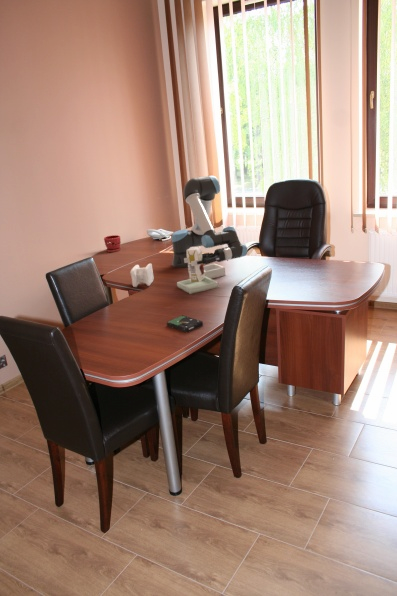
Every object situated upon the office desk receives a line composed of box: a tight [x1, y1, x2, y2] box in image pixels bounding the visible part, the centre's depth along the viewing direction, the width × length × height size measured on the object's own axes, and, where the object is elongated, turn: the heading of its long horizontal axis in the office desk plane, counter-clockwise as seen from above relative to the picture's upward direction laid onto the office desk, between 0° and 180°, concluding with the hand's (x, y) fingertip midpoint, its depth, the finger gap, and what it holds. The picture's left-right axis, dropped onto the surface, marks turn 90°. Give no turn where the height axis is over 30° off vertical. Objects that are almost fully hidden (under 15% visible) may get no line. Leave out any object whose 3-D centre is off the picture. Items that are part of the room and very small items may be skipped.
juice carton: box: [187, 246, 204, 282], centre depth 281 cm, size 8×9×19 cm
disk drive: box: [166, 314, 204, 333], centre depth 230 cm, size 10×3×15 cm
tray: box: [176, 276, 219, 295], centre depth 285 cm, size 18×18×3 cm
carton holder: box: [203, 262, 226, 280], centre depth 305 cm, size 13×13×5 cm
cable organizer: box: [129, 263, 155, 288], centre depth 301 cm, size 15×11×12 cm
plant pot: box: [103, 234, 122, 253], centre depth 404 cm, size 13×13×12 cm
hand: (187, 262), depth 279 cm, fingers closed on juice carton, 9 cm apart
